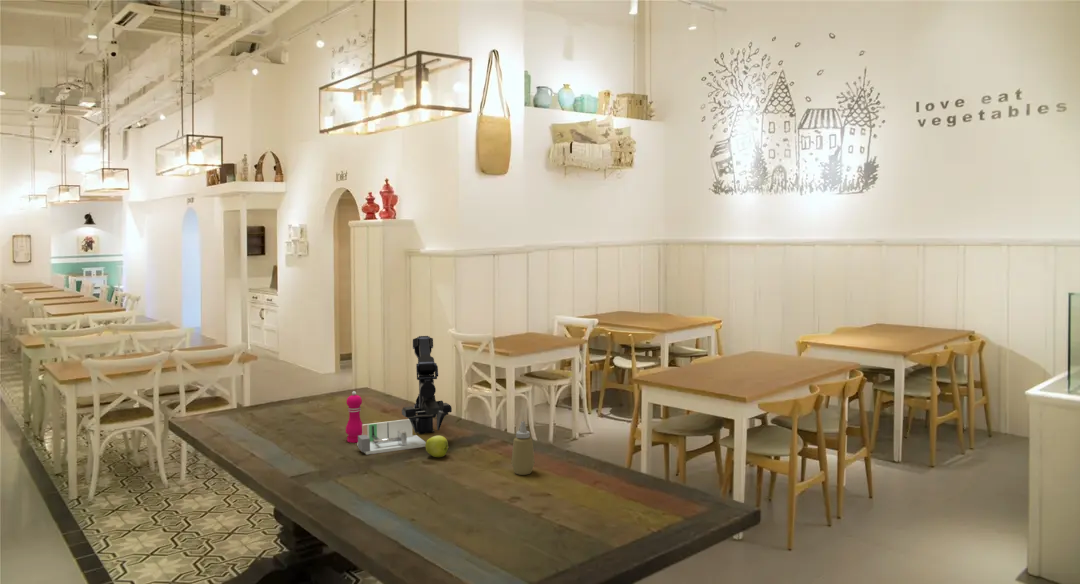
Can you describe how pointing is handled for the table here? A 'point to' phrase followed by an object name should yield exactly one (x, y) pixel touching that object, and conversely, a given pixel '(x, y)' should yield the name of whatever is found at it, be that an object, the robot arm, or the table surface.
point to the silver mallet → (401, 438)
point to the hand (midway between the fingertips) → (427, 431)
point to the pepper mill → (354, 418)
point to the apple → (437, 446)
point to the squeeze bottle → (523, 452)
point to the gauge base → (384, 432)
